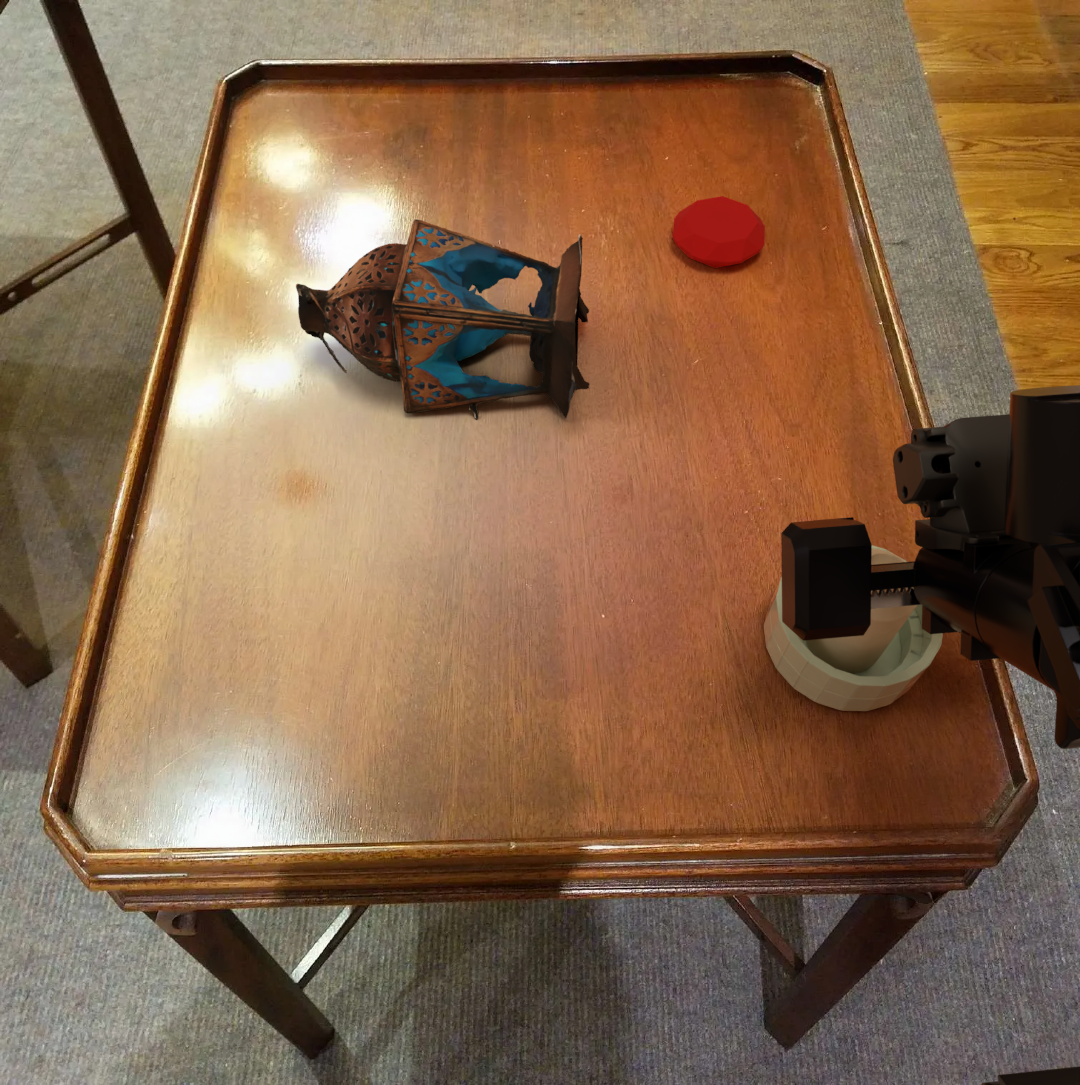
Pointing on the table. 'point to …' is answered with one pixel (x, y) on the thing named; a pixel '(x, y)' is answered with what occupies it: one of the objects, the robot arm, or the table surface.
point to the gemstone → (718, 232)
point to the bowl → (842, 688)
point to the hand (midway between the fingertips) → (889, 536)
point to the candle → (868, 648)
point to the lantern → (449, 318)
